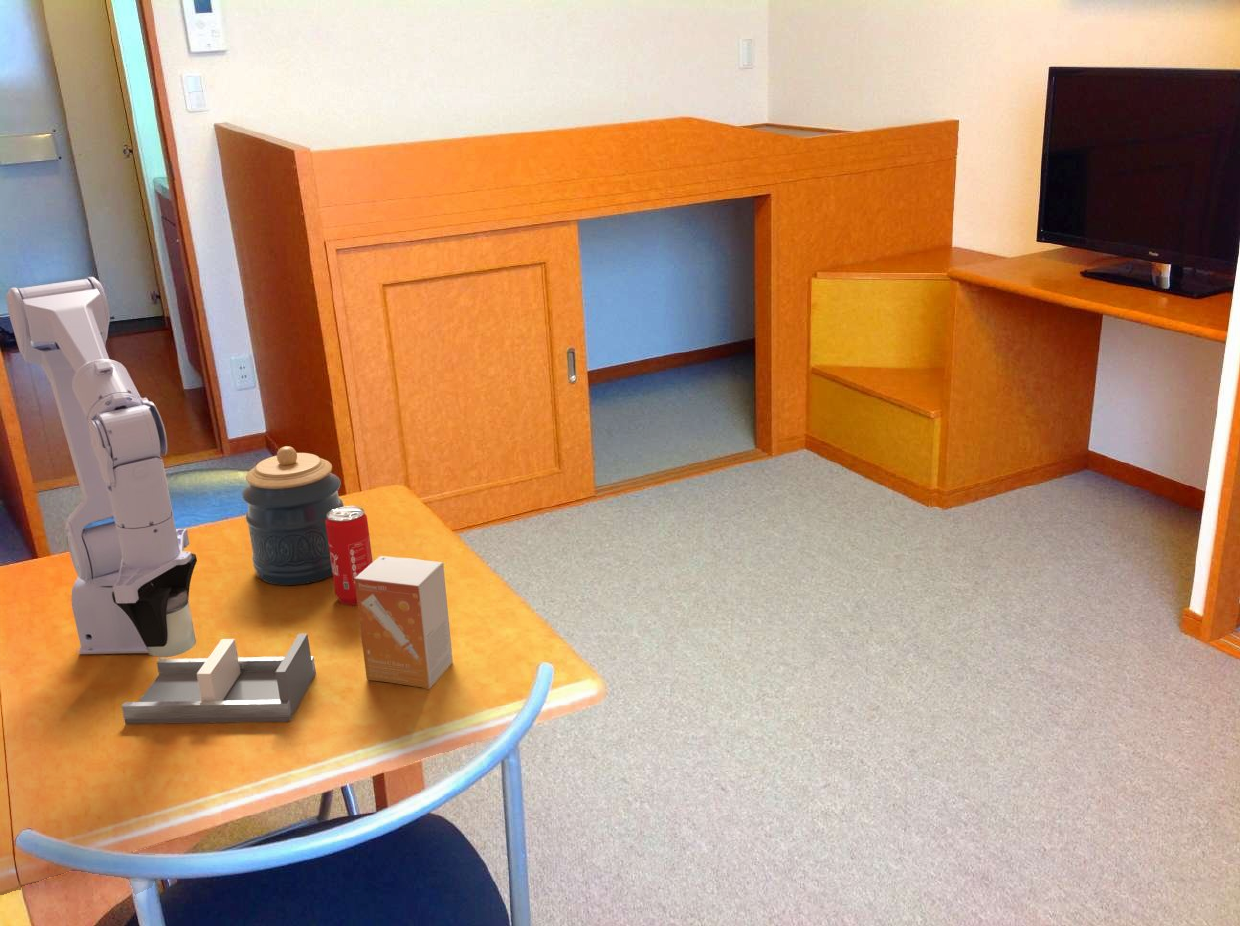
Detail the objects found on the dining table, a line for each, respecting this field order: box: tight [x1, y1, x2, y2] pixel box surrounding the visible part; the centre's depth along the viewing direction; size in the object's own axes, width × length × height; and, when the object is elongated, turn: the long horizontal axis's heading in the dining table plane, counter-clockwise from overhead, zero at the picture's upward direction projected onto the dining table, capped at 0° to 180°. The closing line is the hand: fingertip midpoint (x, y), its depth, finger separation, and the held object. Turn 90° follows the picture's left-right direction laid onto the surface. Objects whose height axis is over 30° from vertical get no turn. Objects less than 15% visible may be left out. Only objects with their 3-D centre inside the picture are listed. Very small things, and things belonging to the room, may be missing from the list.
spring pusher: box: [197, 638, 241, 701], centre depth 129 cm, size 2×8×4 cm, turn 178°
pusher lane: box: [121, 632, 317, 725], centre depth 129 cm, size 18×10×6 cm, turn 88°
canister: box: [241, 445, 345, 586], centre depth 158 cm, size 13×13×18 cm
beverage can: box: [326, 505, 374, 606], centre depth 150 cm, size 5×5×12 cm
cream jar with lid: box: [147, 586, 197, 658], centre depth 126 cm, size 5×5×6 cm
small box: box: [355, 555, 453, 690], centre depth 131 cm, size 8×6×13 cm
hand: (166, 632), depth 127 cm, fingers closed on cream jar with lid, 5 cm apart
